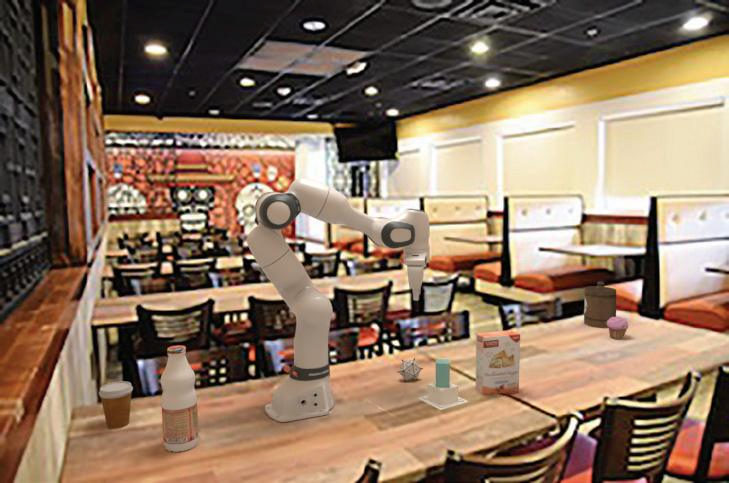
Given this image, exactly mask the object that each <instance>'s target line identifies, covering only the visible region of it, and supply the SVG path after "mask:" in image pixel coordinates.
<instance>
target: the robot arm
mask: <svg viewBox="0 0 729 483" xmlns="http://www.w3.org/2000/svg"><path fill="white" fill-rule="evenodd" d="M349 202H350V201H349V200H348V198H347V196H345V195H344V194H343V193H341V192H340V191H338V190H336V189H335V188H332V187H331V186H329V185H326V184H324V183H321V182H319V181H315V180H313V179H309V178H305V177H298V178H296V179H295V180H294V181H292V183H291V184H289V187H288V189H287V190H286V191H285V192H277V191H267V192H265V193H263V194H261V195H260V196H259V197H258V198H257V200H256V203H255V206H254V213H255V224H256V225H257V226H255V227H254V228H253V229H252V230H251V231H250V232H249V234H248V235H247V238H246V244H247V247H248V248H249V251H250V252H251V253H250V254H252V255H251V256H252V257H253V258H254V260H255V262H256V263H257V264H258V266H259V268H260V269H261V270H262V272H263V273H264V274H265V275H266V277H267V278H268V280H269V281H270V282H271V284H272V285H273V286H274V288H275V289H276V291H277V292H278V294H279V295H280V296H281V298H282V300H283V301H284V303H285V304H286V305H287V307H288V308H289V309H290V311H291V312H292V313H293V315H294V316H295V320H296V321H295V322H296V324H295V325H296V326H295V333H294V339H293V359H294V360H293V364H292V366H290V365H287V364H286V365H284V367H283V371H284V372H286V373H289V376H288V377H287V378H286V379H285V380H284V381H283V382H282V383H281V384H280V385H278V386H277V387H276V388H275V389H273V393H272V397H271V403H267V404H266V405H265V408H264V412H265V414H266V415H267V416H268V417H269V418H270V419H272V420H274V421H276V422H281V423H286V422H291V421H298V420H304V419H310V418H315V417H321V416H325V415H328V414H329V412H330V410H331V409H332V408H334V406H335V401H334V399H333V394H332V389H331V385H330V378H331V369H330V368H331V366H330V364H331V363H330V362H329V345H328V344H329V332H330V326H331V319H332V317H333V312H334V311H333V310H334V309H333V306H332V303H331V300H330V299H329V297H327V295H326V294H324V293H322V292H321V291H320V290H319V289H318V288H317V287H316V286H315V284H314V282H313V281H312V279H311V277H310V276H309V274H308V271H307V270H306V269H305V267H304V265H303V264H302V262H301V261H300V260H299V258H298V257H297V256H296V254H295V253H294V251H293V250H292V248H291V247H290V245H289V244H288V243H287V241H286V240H285V237H283V233H282V230H283V229H285V228H287V227H288V226H290V225H291V224H292V223H293V222H294V220H295V219H296V218H297V217H298V216H299V215H300V214H304V215H307V216H309V217H312V218H313V219H315V220H318V221H321V222H323V223H327V224H331V225H345V226H346V227H348V228H351V229H354V230H356V231H358V232H360V233H362V234H364V235H365V236H366V237H367V238H368V239H369V240H370V242H372V243H373V244H374V245H375V246H379V247H384V248H387V249H391V250H396V249H399V248H403V263H405V266H406V268H407V271H406V272H407V279H408V280H407V281H408V285H409V286H408V287H409V289H411V290H412V300H413V301H419V300H420V295H421V289H422V288H421V287H422V284H423V280H424V278H425V277H424V274H425V273H424V272H425V271H424V270H425V268H426V267H427V264H428V263H430V260H431V256H430V255H431V246H430V243H429V240H430V236H431V232H430V231H431V230H430V219H429V215H428V213H427V212H426V211H425V210H422V209H417V208H406V209H405V210H404V211H403V212H401V213H400V214H397V215H396V216H394V217H392V218H388V217H382V216H380V217H373V216H371V215H369V214H366V213H365V212H362V211H360V210H358V209H357V208H354V207H353V206H351V203H349Z"/></svg>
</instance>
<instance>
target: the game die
mask: <svg viewBox="0 0 729 483" xmlns="http://www.w3.org/2000/svg"><path fill="white" fill-rule="evenodd" d="M415 360H416V357H414V358H413V359H410V360H409V359H408V360H404V359H401V361H402V363H401V366H400V369H399V370H398V371H397V373H399V374H400V375H401V376H402V378H403V379H404V383H407V382H409V381H416V380H418V378H419V375H420V373H421V371H422V370H423V369H424V368H423V367H420V366H419V364H418V363H417V361H415Z"/></svg>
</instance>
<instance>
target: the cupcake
mask: <svg viewBox="0 0 729 483" xmlns="http://www.w3.org/2000/svg"><path fill="white" fill-rule="evenodd" d="M607 326H608V327H609V328H608V334H609V337H610V338H612V339H614V340H621V339H623V338H624V337H625V336H626V333H627V330H628V328H629V324H628V321H627V320H626V319H625V318H624V317H621V316H616V317H611V318H610V319H609V320H608V321H607Z"/></svg>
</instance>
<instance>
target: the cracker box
mask: <svg viewBox="0 0 729 483" xmlns="http://www.w3.org/2000/svg"><path fill="white" fill-rule="evenodd" d="M475 335H476V338H475V340H476V341H475V391H477V393H479V394H480V395H482V396H487V395H494V394H502V395H508V394H516V393H519V392H520V362H521V361H520V358H521V357H520V356H521V355H520V354H521V334H520V333H519V332H518V331H517V332H516V331H515V330H512V329H511V330H510V329H508V330H500V331H489V332H487V331H486V332H485V331H484V332H477V333H475Z"/></svg>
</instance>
